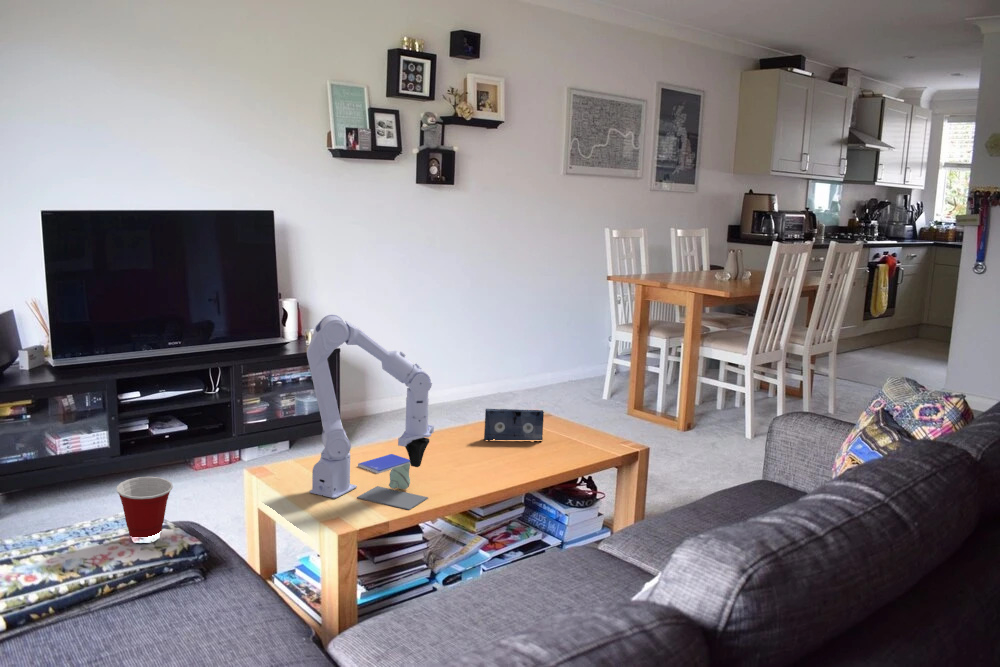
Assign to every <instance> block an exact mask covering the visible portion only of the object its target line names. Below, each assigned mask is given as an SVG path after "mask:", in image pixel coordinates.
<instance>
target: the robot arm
mask: <svg viewBox="0 0 1000 667" xmlns="http://www.w3.org/2000/svg"><path fill="white" fill-rule="evenodd" d="M344 344H346V345H347V346H358V347H360V349H361V348H362V349H363V350H364V351H365V352H367V353H369V354H370V355H371V356H373V357H374V358H375V359H377V360H378V361H380V362H381V368H382V370H383V371H385V372H386V373H388V374H389V375H390V376H392V377H393V378H394V379H395V380H397V381H398V382H400V383H401V384H404V385H405V386H406V387H407V388H406V398H405V428H404V429H405V431H404V432H403V433H402V434H401V436H400V437H398V439H397V445H398V446H399V447H403V448H404V447H405V450H406V452H407V455H408V459H409V460H410V467H415V468H419V467H421V464H422V462H423V457H424V454H425V451H426V448H427V446H428V445H429V443H430V439H429V438H430V437H432V434H434V433H435V432H434V429H435V426H434V425H429V402H430V401H429V400H430V398H429V391H430V390H431V388H432V386H433V383H432V382H431V381H432V380H431V376H429V375H428V374H427V373H426V371H424V370H423V369H422V367H420V365H419V364H418V363H413V362H412V361H411V360H410V359H408V358H407V357H406V354H405V353H403V351H397V350H391V351H388V350H387V349H386V348H385V347H384V346H382V345H381V344H379V343H378V342H377V340H374V339H373V338H372V337H371V336H369V335H368V334H367V333H366V332H365V331H363V330H362V329H360V327H357V326H356V325H355V324H352V323H351V322H349V321H347V320H345V321H344V319H342V318H341V316H339V315H337V314H328V315H325V316H324V317H322V318H321V320H320V321H319V322H317V324H316V325H315V328H314V331H313V334H312V337H311V339H310V342H309V344H308V347H307V349H306V357H307V361H308V367H309V372H310V375H311V379H312V380H311V381H312V382H313V388H314V392H315V396H316V402H317V405H318V410H319V415H320V419H321V424H322V425H321V427H322V433H321V443H322V444H323V446H324V448H323V450H322V451H321V452H320V459H319V460H318V461H317V462H316V463H315V464H314V465H313V467H312V477H311V478H312V487H311V489H310V490H309V493H311V494H315V495H319V496H322V495H323V496H322V497H326V498H332V499H337V498H339V497H340V496H343V495H345V494H347V493H349V492H351V491H352V490H355V489H356V488H358V487H357V484H352V483H351V448H352V443H351V441H350V439H349V438H348V436H347V432H346V430H345V429H344V427H343V424H342V420H341V416H340V412H339V408H338V407H339V406H338V401H337V397H336V393H335V388H334V384H333V379H332V375H331V370H330V366H329V361H328V358H329V357H330V356H331V355H332V354H333V352H334V350H335V349H337V348H338V347H340V346H341V345H344Z"/></svg>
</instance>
